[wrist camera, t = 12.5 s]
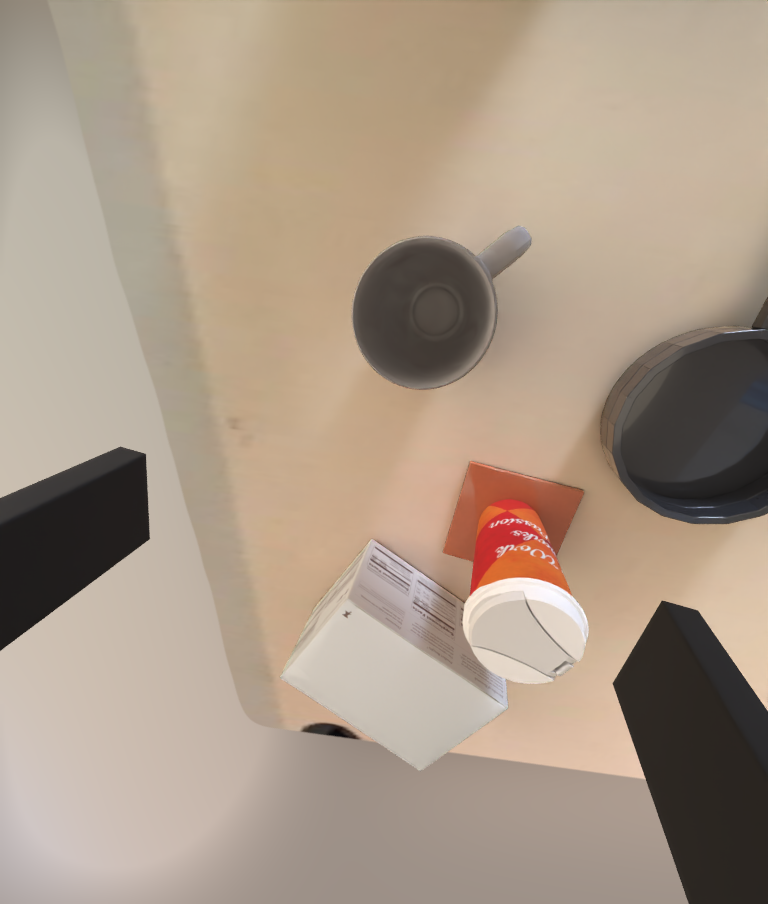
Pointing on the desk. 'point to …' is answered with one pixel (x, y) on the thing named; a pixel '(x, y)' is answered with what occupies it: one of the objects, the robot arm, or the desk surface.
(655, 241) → the desk surface
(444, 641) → the supplement box
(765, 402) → the pan
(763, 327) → the pan handle
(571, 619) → the paper cup
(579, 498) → the coaster
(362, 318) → the mug
